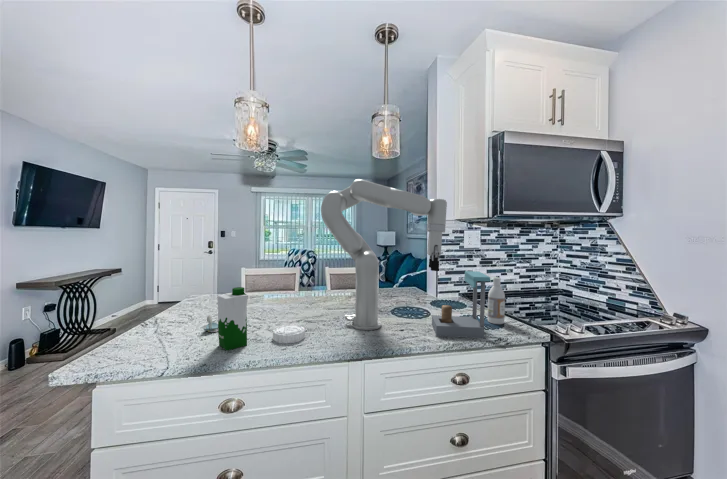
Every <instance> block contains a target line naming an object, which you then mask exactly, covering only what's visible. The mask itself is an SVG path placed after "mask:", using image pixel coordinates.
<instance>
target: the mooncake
mask: <svg viewBox="0 0 727 479" xmlns="http://www.w3.org/2000/svg"><path fill="white" fill-rule="evenodd" d="M305 338H306V328H305V327H303V326H302V325H299V324H284V325H281V326H278V327H276V328H274V329H273V331H272V340H273V341H274V342H276V343H278V344H290V343H292V344H293V343H296V342H297V343H298V342H300V341H304V340H303V339H305Z"/></svg>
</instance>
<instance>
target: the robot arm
mask: <svg viewBox="0 0 727 479" xmlns="http://www.w3.org/2000/svg"><path fill="white" fill-rule="evenodd" d="M361 202H366V203H370V204H371V205H372V204H373V205H376V206H379V207H383V208H387V209H398V210H402V211H405V212H410V213H411V214H412V216H413V215H414V216H416V217H421V216H427V221H426V232H427V233H428V239H427V251H426V253H427V256H429V259H428V268H429V269H430V271H432V272H439V270H440V256H441V254H442V244H443V243H442V242H443V233H444V234H445V233H446V225H447V224H446V223H447V220H446V219H447V209H448V208H447V207H448V202H447V201H446V199H444V198H443V199H442V198H431V199H429V198H428V197H426V196H424V195H420V194H417V193H414V192H410V191H408V190H407V191H406V190H402V189H397V188H394V187H391V186H386V185H384V184H379V183H376V182H372V181H369V180H366V179H362V178H361V179H360V178H357V179H355V180H353V181H352V183H351V184H350V186H348V187H346V188H344V189H342V190H341V191H337V190H333V191H332V190H331V191H330V192H328V193H327V194H326V195H325V196H324V197H323V200H322V203H321V205H320V213H321V215H320V216H321V219H322V222H323V223H324V224H325V226H326V227H327V230H329V232H330V233H331V235H332V237H334V239H335V240H336V241H337V243H338V244H339V246H340V247H341V249H342V250H343V251H344V252H345V253H347V254H348V255H349V256H350V258H351V259H352V260H353V261H354V263H355V265H354V266H355V269H354V270H355V313H354V314H352V315H350V314H345V318H344V319H345V320H346V321H347V322H351V321H352V322H351V326H352V327H353V328H354V329H356V330H362V331H375V330H377V329H380V328H381V327H382V322H381V321H380V320H379V308H378V307H379V269H380V266H379V265H380V264H379V259H378V256H377V255H376V253H375V252H374V251H373V249H372V248H371V247H370V245H369V244H368V243H367V242H366V240H365V239H364V238H363V236H362V235H361V234H360V233H359V232H357V231H356V230H355V229H354V228H353V226H352V225H351V224H350V222H349V221H348V220H347V218H346V217H345V216H344V214H343V212H344V211H346V210H347V209H349V208H351V207H354V206H356V205H358V204H360V203H361Z"/></svg>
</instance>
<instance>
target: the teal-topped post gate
mask: <svg viewBox="0 0 727 479" xmlns="http://www.w3.org/2000/svg"><path fill="white" fill-rule="evenodd" d="M464 281H465V283H468V285H470V286H471V287H472V316H471V317H472V318H474V319H478V318H477V316H478V315H477V310H478V309H477V306H478V282H480V302H479V304H480V305H479V322H480V327H484V328H485V309H486V308H485V306H486V282H491V277H490V276H489V275H486V274H485V273H483V272H482V271H471V270H465V271H464Z"/></svg>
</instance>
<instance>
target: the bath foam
mask: <svg viewBox="0 0 727 479" xmlns="http://www.w3.org/2000/svg"><path fill="white" fill-rule="evenodd" d="M501 282H502V281H501V277H496V276H495V277H493V282H492V283H493V284H492V285H493V286H492V287H491V288H490V289H489V291H488V293H487V322H488V323H491V324H494V325H503V324H504V323H505V316H506V313H505V312H506V309H505V308H506V294H505V291H504V290H503V288H502V286H501Z"/></svg>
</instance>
